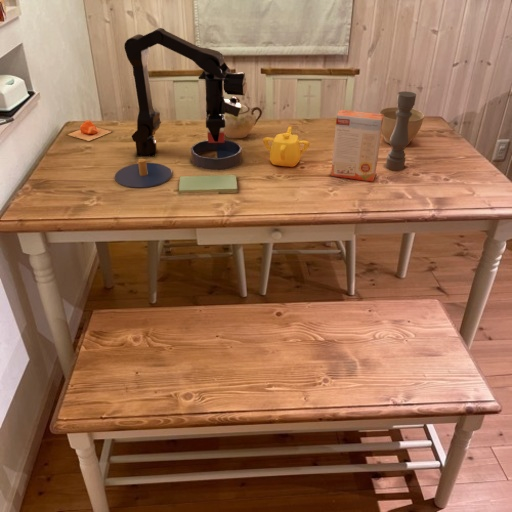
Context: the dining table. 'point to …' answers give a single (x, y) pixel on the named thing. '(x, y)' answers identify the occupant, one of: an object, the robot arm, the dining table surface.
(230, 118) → the sugar bowl
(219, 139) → the meat
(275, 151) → the teapot
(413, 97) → the candle holder
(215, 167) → the pot
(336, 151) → the cracker box
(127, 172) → the lid
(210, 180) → the board
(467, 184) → the dining table surface
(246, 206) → the dining table surface
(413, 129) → the planter bowl
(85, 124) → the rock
